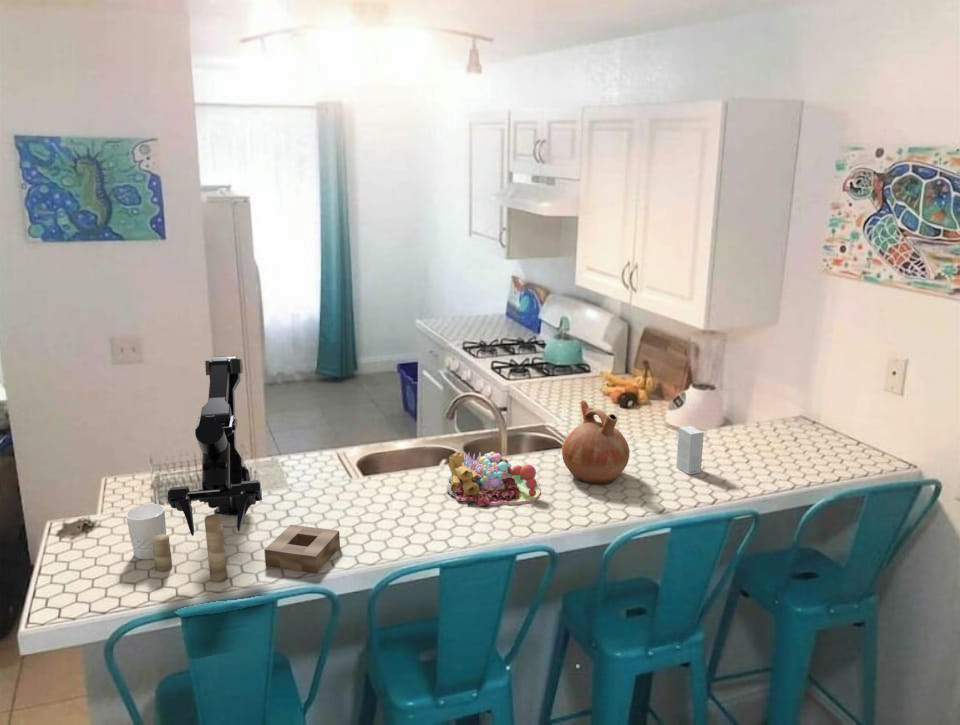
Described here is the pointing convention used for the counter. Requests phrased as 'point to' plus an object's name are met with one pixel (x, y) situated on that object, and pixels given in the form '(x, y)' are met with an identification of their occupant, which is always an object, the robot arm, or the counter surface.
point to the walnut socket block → (302, 548)
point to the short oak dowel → (162, 552)
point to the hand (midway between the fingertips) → (215, 532)
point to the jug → (595, 448)
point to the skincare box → (690, 450)
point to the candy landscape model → (491, 480)
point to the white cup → (145, 528)
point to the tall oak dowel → (216, 548)
